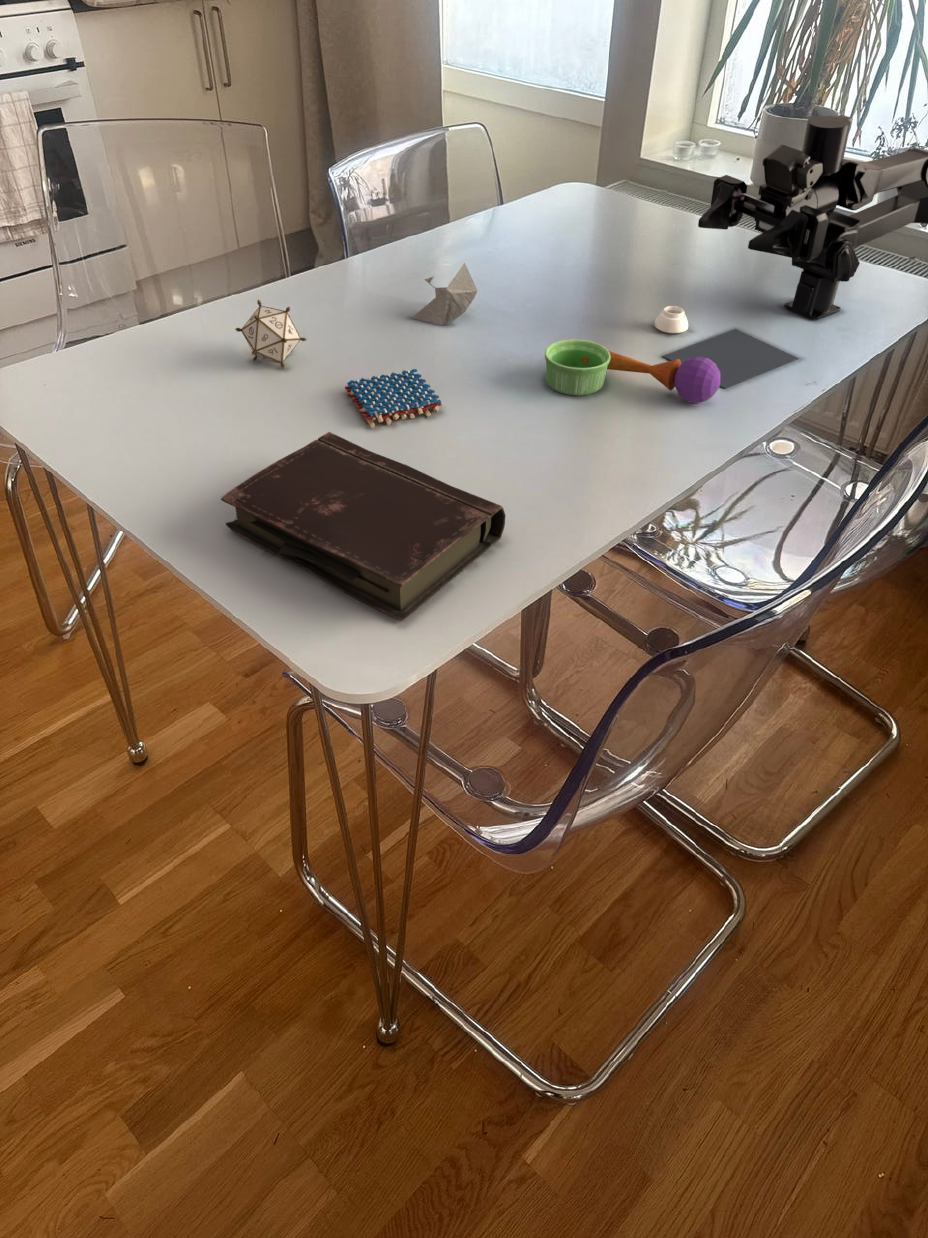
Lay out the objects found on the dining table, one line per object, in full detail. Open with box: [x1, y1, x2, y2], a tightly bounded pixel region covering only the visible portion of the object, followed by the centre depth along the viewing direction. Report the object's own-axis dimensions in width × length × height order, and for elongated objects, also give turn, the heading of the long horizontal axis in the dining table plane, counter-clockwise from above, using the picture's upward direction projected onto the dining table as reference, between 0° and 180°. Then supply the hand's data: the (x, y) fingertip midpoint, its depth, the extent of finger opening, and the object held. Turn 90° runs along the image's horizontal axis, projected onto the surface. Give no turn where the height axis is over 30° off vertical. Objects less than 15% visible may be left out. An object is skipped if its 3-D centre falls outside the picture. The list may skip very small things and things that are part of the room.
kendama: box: [581, 350, 720, 404], centre depth 128 cm, size 6×6×20 cm
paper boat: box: [411, 262, 479, 327], centre depth 145 cm, size 12×6×9 cm
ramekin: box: [544, 338, 610, 396], centre depth 129 cm, size 9×9×4 cm
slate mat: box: [662, 328, 799, 390], centre depth 137 cm, size 16×12×1 cm
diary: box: [220, 431, 506, 622], centre depth 101 cm, size 19×25×5 cm
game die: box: [234, 299, 308, 369], centre depth 131 cm, size 9×8×10 cm
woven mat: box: [344, 368, 442, 429], centre depth 124 cm, size 10×11×2 cm
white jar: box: [654, 305, 689, 334], centre depth 143 cm, size 5×3×5 cm
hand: (723, 233), depth 128 cm, fingers open, 9 cm apart
